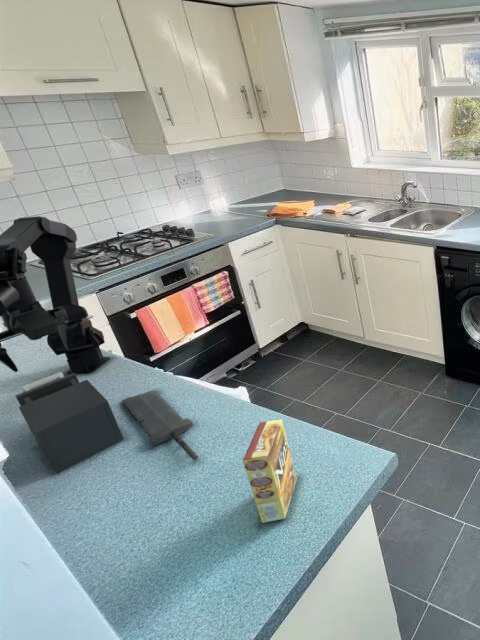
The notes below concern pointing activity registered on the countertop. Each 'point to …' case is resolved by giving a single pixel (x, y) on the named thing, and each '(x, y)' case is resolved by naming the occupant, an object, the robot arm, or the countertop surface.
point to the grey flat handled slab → (159, 419)
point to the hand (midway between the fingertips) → (43, 359)
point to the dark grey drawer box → (72, 424)
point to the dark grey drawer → (45, 387)
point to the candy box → (270, 470)
